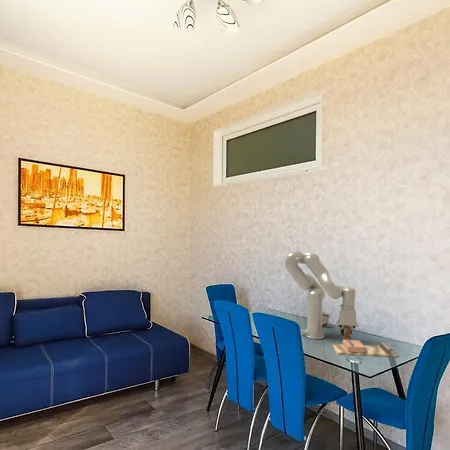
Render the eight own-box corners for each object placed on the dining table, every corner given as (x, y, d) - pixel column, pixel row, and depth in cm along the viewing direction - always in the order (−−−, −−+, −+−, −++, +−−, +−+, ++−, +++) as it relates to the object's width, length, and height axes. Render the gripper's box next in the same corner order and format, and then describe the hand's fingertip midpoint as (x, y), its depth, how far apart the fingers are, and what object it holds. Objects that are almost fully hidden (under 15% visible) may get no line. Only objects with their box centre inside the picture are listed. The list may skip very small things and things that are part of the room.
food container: (327, 325, 256) (327, 312, 256) (329, 328, 250) (329, 314, 250) (310, 324, 257) (311, 311, 257) (312, 327, 251) (312, 313, 251)
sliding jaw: (347, 351, 199) (347, 344, 199) (342, 344, 211) (342, 337, 211) (365, 352, 198) (365, 345, 198) (359, 345, 210) (359, 338, 210)
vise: (337, 354, 199) (337, 347, 199) (332, 345, 213) (332, 339, 213) (396, 357, 196) (396, 349, 196) (387, 348, 210) (387, 341, 210)
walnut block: (344, 339, 217) (345, 328, 217) (341, 335, 225) (342, 324, 225) (350, 340, 217) (351, 329, 217) (347, 335, 225) (348, 325, 225)
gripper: (336, 307, 218) (334, 336, 218) (363, 309, 216) (361, 338, 217) (333, 304, 225) (331, 332, 226) (359, 306, 224) (357, 334, 224)
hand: (346, 334), depth 221 cm, fingers closed on walnut block, 4 cm apart
